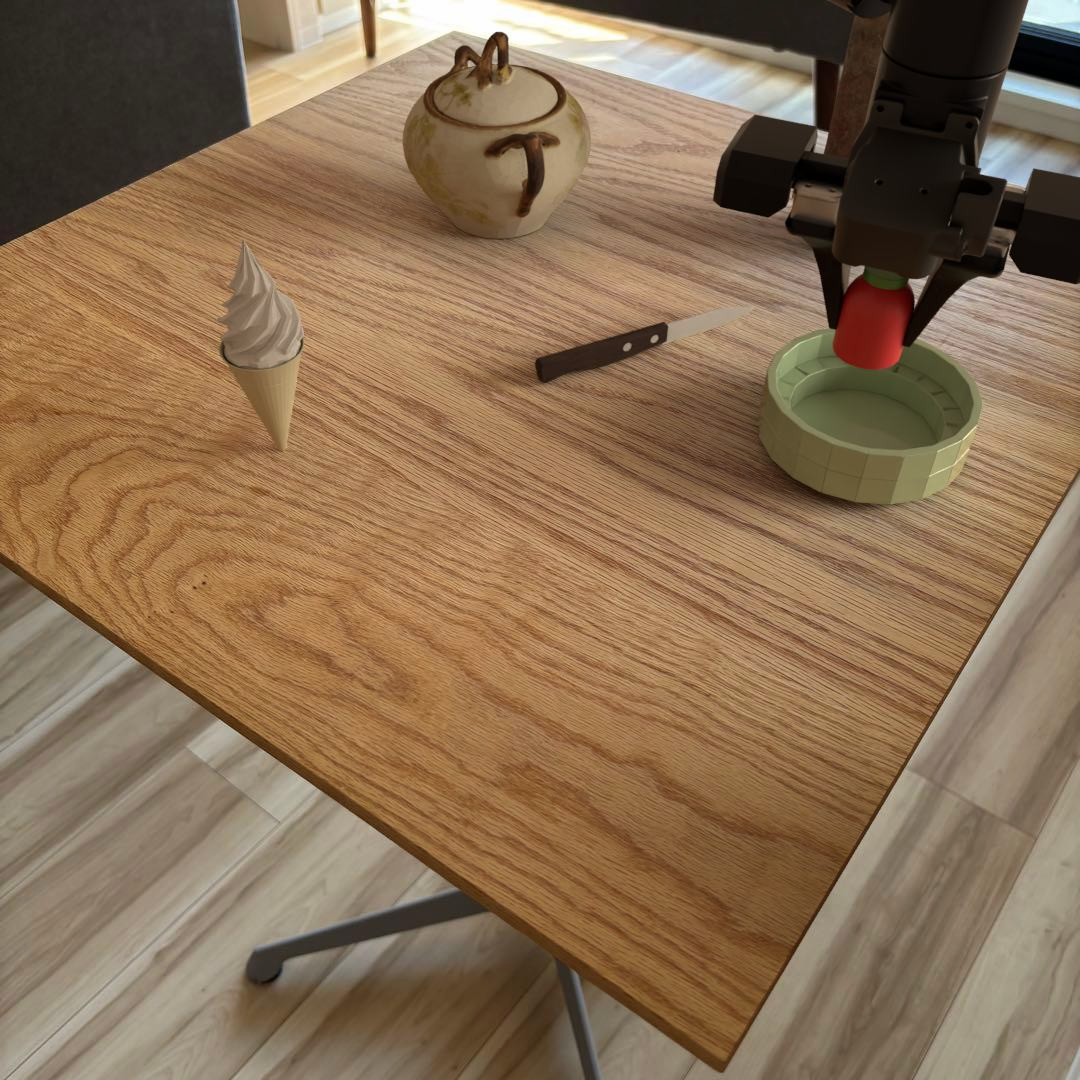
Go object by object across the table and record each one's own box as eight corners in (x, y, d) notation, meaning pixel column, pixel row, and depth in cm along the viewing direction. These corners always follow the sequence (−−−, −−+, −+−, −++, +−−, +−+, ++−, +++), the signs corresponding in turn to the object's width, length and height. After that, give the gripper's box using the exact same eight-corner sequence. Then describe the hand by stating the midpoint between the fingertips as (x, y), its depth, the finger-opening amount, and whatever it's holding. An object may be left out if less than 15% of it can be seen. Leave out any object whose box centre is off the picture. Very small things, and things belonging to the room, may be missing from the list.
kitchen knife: (539, 388, 78) (539, 364, 77) (532, 380, 79) (533, 357, 77) (756, 321, 84) (760, 298, 83) (749, 314, 85) (753, 291, 83)
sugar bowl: (626, 259, 90) (639, 70, 79) (444, 292, 86) (433, 98, 76) (543, 150, 103) (545, -25, 93) (382, 174, 100) (366, -4, 89)
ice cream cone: (336, 436, 74) (305, 230, 64) (293, 483, 71) (253, 274, 60) (272, 415, 76) (231, 210, 65) (226, 460, 72) (176, 252, 62)
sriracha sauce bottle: (905, 339, 65) (930, 258, 61) (893, 376, 62) (918, 294, 59) (840, 324, 66) (859, 242, 62) (825, 359, 63) (845, 277, 60)
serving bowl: (976, 410, 77) (996, 355, 74) (943, 535, 68) (964, 479, 65) (786, 362, 80) (797, 308, 77) (732, 475, 72) (742, 420, 69)
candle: (917, 256, 91) (989, -6, 77) (838, 274, 89) (898, 8, 75) (864, 211, 96) (923, -42, 82) (788, 227, 94) (835, -30, 80)
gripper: (699, 85, 50) (666, 373, 61) (1154, 171, 45) (1026, 467, 56) (765, -2, 57) (724, 269, 68) (1162, 63, 52) (1048, 344, 63)
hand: (869, 334), depth 63 cm, fingers closed on sriracha sauce bottle, 4 cm apart
